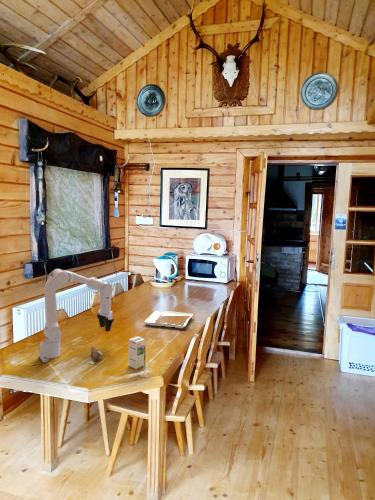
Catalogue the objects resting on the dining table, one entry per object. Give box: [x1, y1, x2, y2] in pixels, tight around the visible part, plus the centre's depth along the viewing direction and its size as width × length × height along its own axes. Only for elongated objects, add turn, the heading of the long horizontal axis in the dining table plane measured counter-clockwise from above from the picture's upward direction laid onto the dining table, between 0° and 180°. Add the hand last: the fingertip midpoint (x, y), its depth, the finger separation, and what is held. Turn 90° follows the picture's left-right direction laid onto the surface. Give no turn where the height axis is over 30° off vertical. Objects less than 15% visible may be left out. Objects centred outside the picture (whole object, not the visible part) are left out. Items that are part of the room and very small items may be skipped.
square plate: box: [143, 310, 194, 329], centre depth 247 cm, size 27×27×4 cm
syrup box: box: [128, 336, 147, 370], centre depth 175 cm, size 6×6×14 cm
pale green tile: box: [87, 360, 96, 365], centre depth 176 cm, size 2×3×1 cm
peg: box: [90, 346, 103, 362], centre depth 181 cm, size 4×12×5 cm, turn 36°
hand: (105, 329), depth 198 cm, fingers open, 7 cm apart
